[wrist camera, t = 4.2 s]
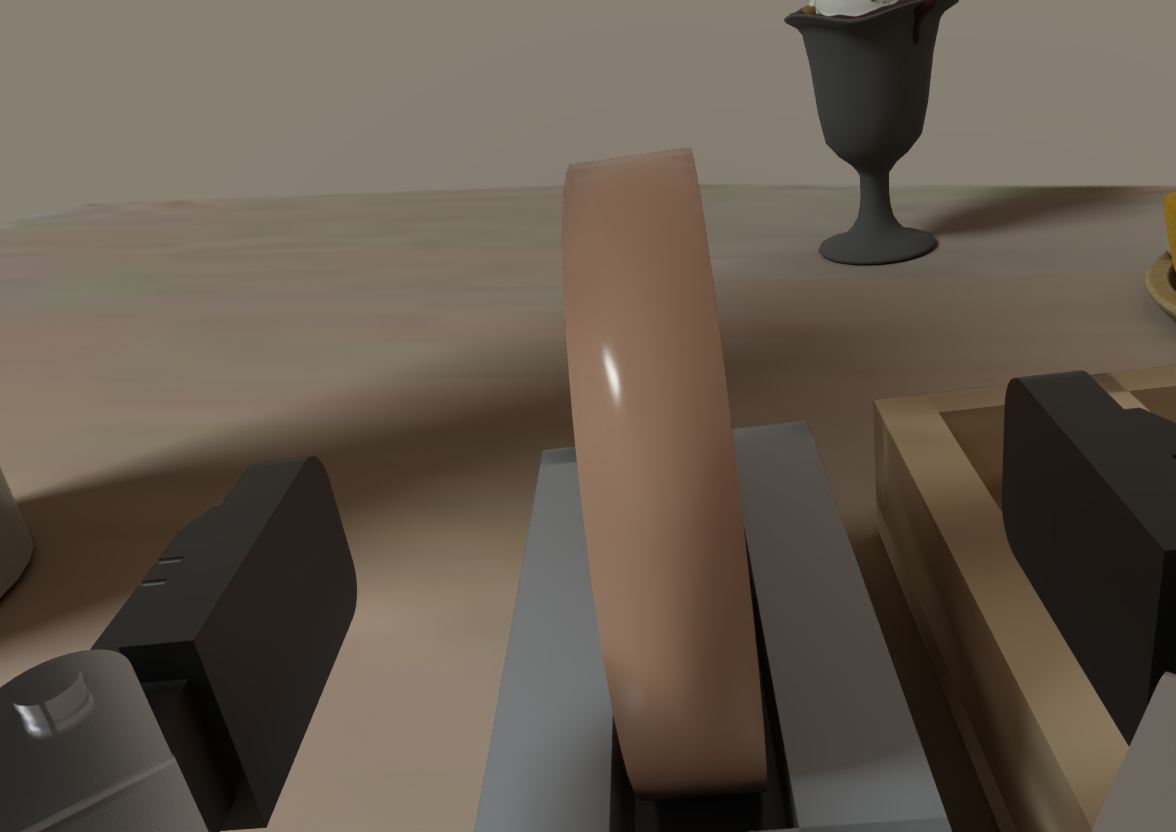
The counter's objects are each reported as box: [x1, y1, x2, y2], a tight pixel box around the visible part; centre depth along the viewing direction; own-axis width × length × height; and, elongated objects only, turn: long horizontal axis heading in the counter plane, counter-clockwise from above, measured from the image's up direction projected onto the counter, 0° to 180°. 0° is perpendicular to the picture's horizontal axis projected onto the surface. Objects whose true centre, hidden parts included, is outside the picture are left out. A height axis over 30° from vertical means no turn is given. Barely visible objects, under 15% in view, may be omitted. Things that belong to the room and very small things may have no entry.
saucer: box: [562, 148, 767, 801], centre depth 16 cm, size 10×2×10 cm, turn 178°
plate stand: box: [474, 421, 952, 832], centre depth 18 cm, size 12×6×4 cm, turn 178°
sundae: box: [784, 0, 959, 265], centre depth 41 cm, size 7×7×15 cm
